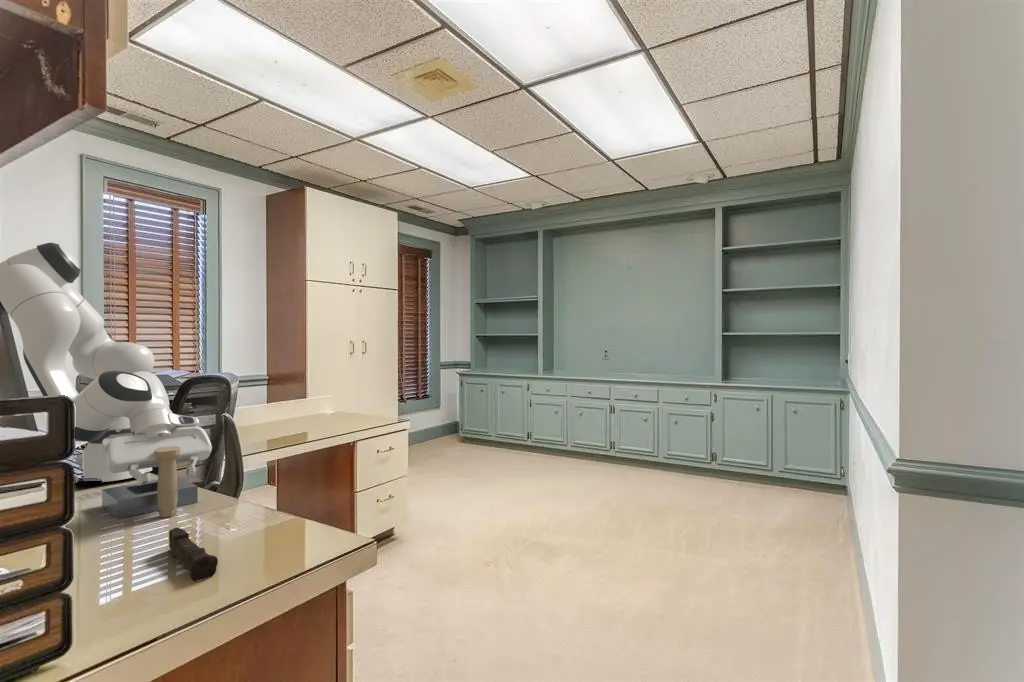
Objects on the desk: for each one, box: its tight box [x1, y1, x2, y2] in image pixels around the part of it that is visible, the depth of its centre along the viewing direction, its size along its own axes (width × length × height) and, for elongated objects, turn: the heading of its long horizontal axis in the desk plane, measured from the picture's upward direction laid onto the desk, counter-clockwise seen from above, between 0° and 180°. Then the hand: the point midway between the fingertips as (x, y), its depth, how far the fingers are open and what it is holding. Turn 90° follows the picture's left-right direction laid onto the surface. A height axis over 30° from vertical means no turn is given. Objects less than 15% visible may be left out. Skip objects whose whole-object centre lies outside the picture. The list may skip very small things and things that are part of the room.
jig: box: [101, 475, 199, 520], centre depth 128 cm, size 14×16×4 cm
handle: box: [154, 446, 180, 519], centre depth 119 cm, size 5×6×15 cm
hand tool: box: [168, 527, 219, 582], centre depth 94 cm, size 19×4×5 cm, turn 44°
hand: (168, 478), depth 119 cm, fingers open, 8 cm apart
